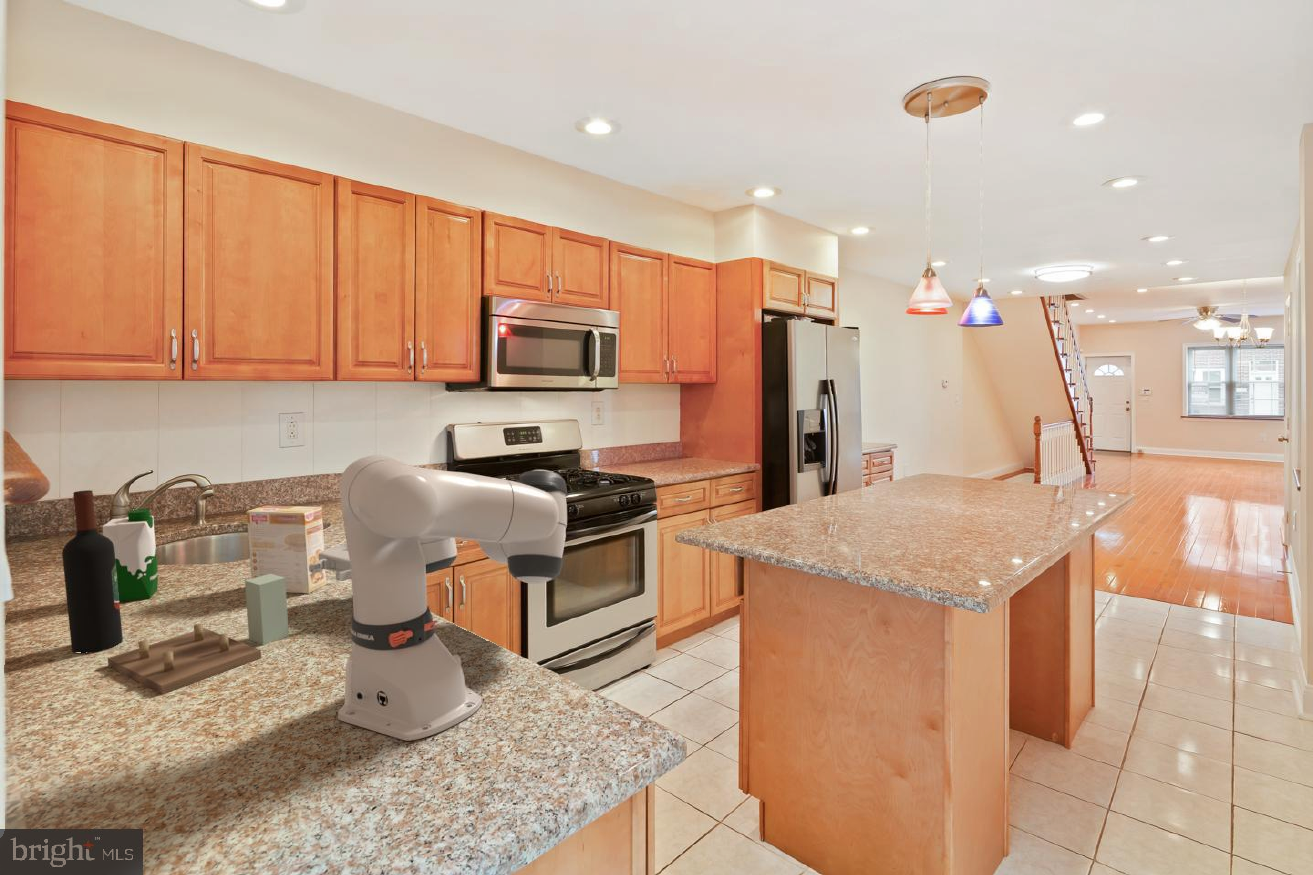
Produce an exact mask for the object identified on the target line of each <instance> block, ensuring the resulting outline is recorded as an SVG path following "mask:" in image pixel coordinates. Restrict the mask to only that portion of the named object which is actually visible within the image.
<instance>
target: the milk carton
mask: <svg viewBox="0 0 1313 875" xmlns="http://www.w3.org/2000/svg"><path fill="white" fill-rule="evenodd" d="M127 514H128V516H127V517H122V518H121V517H120V518H112V519H111V520H109V521H108V522H107V523H105V524H103V525H102V534H103V536H105V537H107V538H109V539H110V540H111V541H112V542H113V544H114V551H115V562H116V572H117V583H118V594H119V603H125V602H132V601H140V600H149V599H151V598H152V597H153V596H154V594H156V592H157V590H158V585H159V584H158V582H159V580H158V579H159V576H158V575H159V570H158V557H157V546H156V535H155V520H154V518H155V517H154V515H151V511H150V509H149V508H141V509H140V508H139V509H133V510H129V511H128V512H127Z"/></svg>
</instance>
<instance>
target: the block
mask: <svg viewBox="0 0 1313 875" xmlns="http://www.w3.org/2000/svg"><path fill="white" fill-rule="evenodd" d="M244 586H245V587H244V588H245V597H246V598H245V600H246V601H245V602H246V612H247V613H246V614H247V629H248V640H249V641H251V642H254V643H256V642H257V643H256V644H259V643H260V644H259V645H261V644H262V646H266V645H268V644H267V643H269V642H271V643H273V642H272V641H274V642H276V641H279V639H280V640H282V638H283V639H285V638H288V637H289V636H290V634H289V620H288V619H289V618H288V616H289V615H288V602H287V592H286V584H285V578H284V577H281V576H277V575H274V574H268V575H264V576H260V577H256V578H253V579H251V578H250V579H249V578H248V579H246V580H244ZM287 636H288V637H287ZM265 644H266V645H265ZM269 644H270V643H269Z"/></svg>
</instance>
